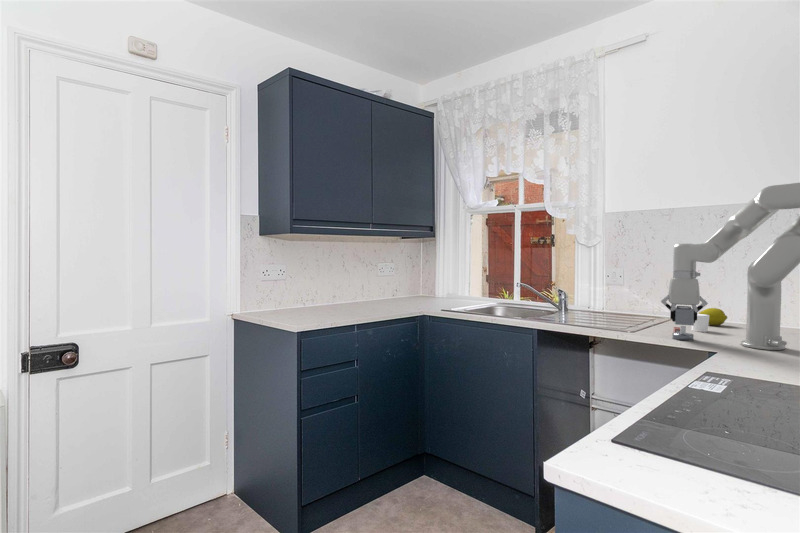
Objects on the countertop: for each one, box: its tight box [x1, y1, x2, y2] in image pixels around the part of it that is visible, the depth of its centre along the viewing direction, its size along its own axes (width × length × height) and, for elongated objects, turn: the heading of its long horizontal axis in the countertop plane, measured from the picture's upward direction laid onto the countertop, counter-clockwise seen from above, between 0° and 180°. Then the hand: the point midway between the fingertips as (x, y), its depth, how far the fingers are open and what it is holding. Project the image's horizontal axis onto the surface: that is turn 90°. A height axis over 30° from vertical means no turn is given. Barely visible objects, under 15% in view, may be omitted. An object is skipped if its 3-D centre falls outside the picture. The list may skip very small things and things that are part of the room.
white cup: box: [690, 313, 709, 333], centre depth 197 cm, size 7×7×7 cm
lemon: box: [698, 307, 728, 327], centre depth 211 cm, size 11×8×8 cm
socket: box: [673, 305, 694, 326], centre depth 179 cm, size 6×6×7 cm
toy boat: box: [671, 325, 695, 342], centre depth 185 cm, size 20×7×5 cm, turn 155°
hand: (683, 321), depth 179 cm, fingers closed on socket, 6 cm apart
